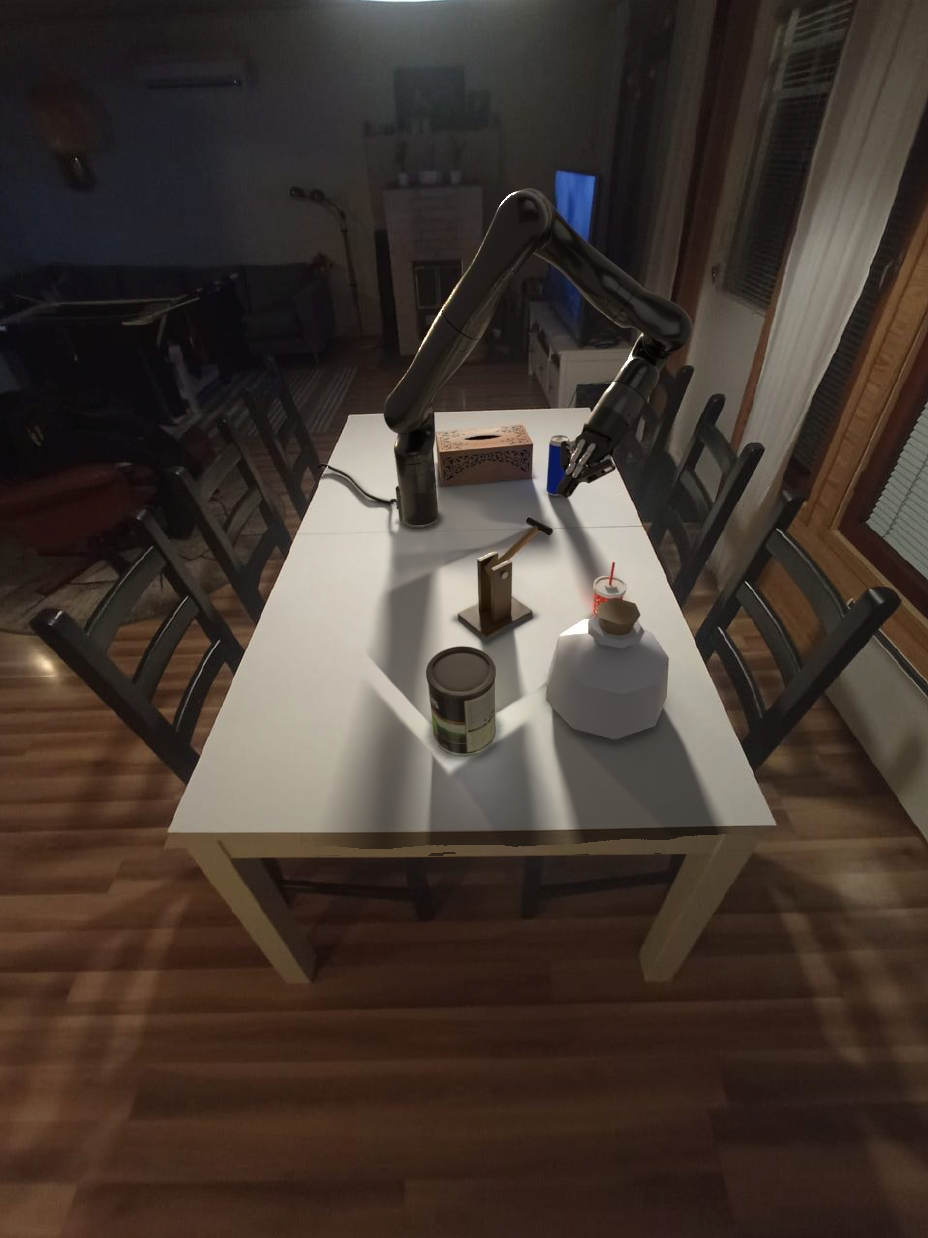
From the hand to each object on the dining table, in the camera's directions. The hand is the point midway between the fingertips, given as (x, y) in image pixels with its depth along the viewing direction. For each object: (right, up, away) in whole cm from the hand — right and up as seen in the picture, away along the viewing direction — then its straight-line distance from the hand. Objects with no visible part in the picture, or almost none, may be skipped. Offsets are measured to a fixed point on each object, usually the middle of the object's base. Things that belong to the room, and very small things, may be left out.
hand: (561, 495), depth 106 cm
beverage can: (+7, +11, +46) cm, 48 cm away
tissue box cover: (-13, +20, +58) cm, 63 cm away
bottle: (+6, -37, -11) cm, 39 cm away
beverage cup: (+9, -24, +4) cm, 26 cm away
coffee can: (-18, -42, -15) cm, 48 cm away
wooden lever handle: (-8, -11, 0) cm, 13 cm away
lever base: (-12, -23, +6) cm, 27 cm away
